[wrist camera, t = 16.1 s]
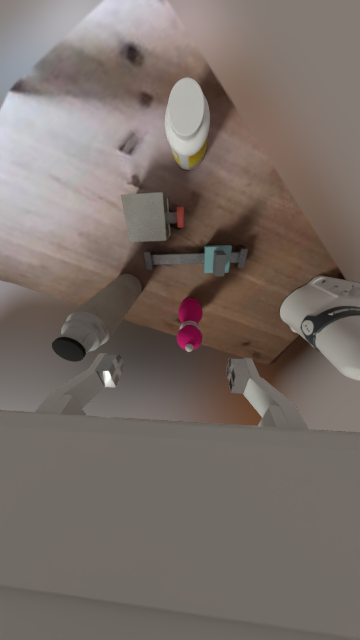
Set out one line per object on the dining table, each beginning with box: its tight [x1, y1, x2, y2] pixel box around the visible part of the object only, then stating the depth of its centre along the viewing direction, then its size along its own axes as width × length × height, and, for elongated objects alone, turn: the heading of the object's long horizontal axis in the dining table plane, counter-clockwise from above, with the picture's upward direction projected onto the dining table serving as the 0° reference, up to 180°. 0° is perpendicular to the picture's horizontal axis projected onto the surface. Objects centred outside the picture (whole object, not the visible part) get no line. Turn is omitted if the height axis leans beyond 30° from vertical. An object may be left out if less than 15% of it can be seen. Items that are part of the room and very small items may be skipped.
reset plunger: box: [166, 207, 184, 228], centre depth 34 cm, size 11×4×4 cm, turn 92°
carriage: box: [204, 245, 232, 276], centre depth 36 cm, size 6×6×9 cm
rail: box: [144, 247, 248, 270], centre depth 40 cm, size 25×4×4 cm, turn 92°
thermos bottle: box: [52, 274, 142, 361], centre depth 36 cm, size 8×8×28 cm
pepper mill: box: [177, 298, 202, 352], centre depth 41 cm, size 7×7×20 cm
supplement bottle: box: [165, 78, 210, 170], centre depth 25 cm, size 7×7×13 cm
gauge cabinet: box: [121, 192, 171, 242], centre depth 34 cm, size 8×8×8 cm
